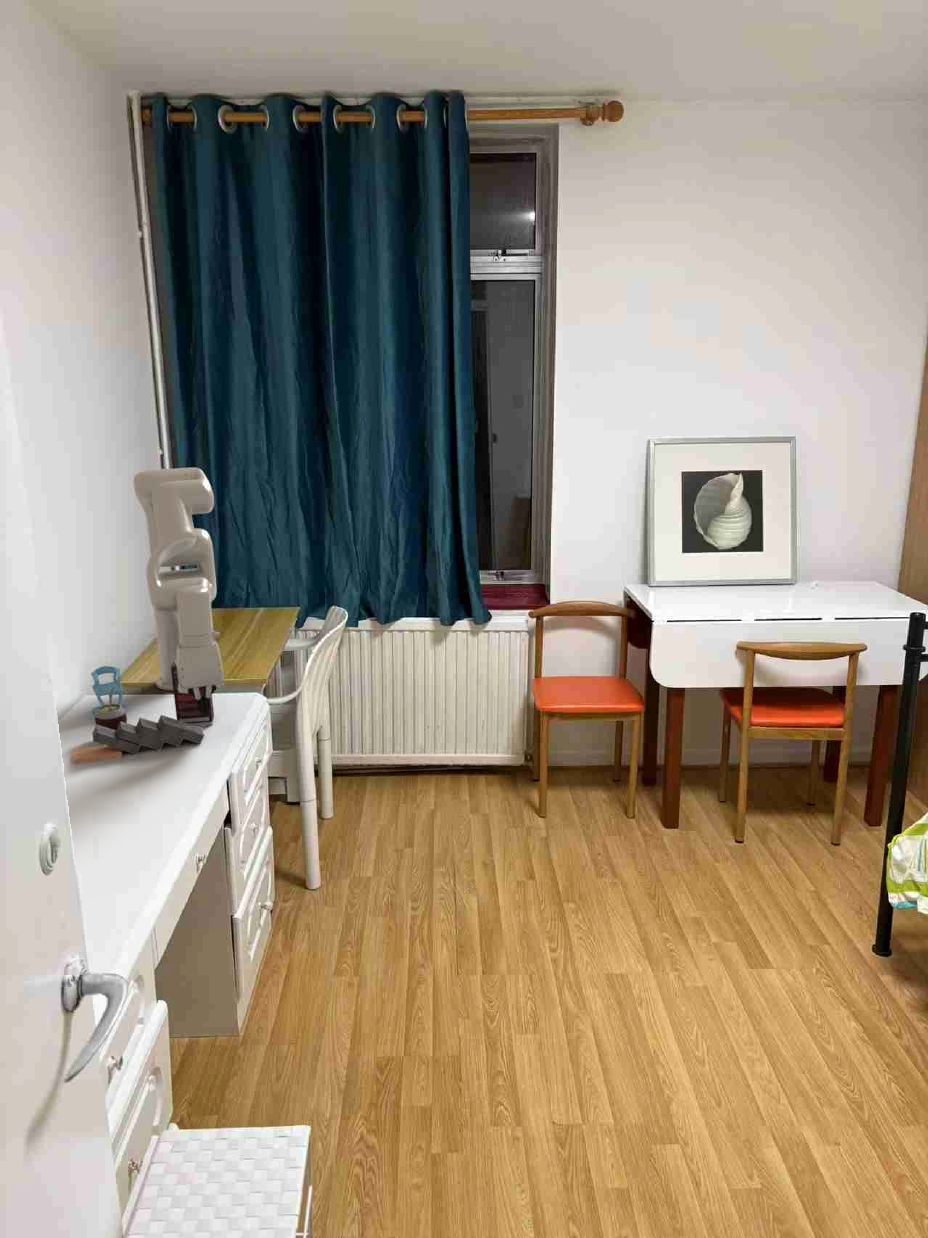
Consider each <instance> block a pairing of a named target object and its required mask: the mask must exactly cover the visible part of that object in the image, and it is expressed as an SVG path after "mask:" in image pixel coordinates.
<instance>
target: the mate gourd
mask: <svg viewBox="0 0 928 1238" xmlns="http://www.w3.org/2000/svg"><path fill="white" fill-rule="evenodd" d="M114 689H115V687H113V688H112V689H111V691H110V693H109V694H108V700H109V701H108V704H109V705H108V704H104V706H102V707H100V708H99V709H98V710H97V713H95V714H94V715H95V717H94V718H95V719H94V723H95V725H96V724H97V725H100V726H103V727H107V728H110V729H113V730H116V731H117V728H118V726H119V724H120V721H121V722H125V723H128V716H127V712H126V710H125V709H124V707H123V708H122V707H121V706H120V705H118V704H114V703H112V700H113V694H114V693H112V692H113V690H114Z"/></svg>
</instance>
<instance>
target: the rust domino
mask: <svg viewBox="0 0 928 1238" xmlns="http://www.w3.org/2000/svg"><path fill="white" fill-rule="evenodd" d="M73 751H74V755H73V756H74V764H75V763H80V764H84V763H83V762H86V763H91V761H92V762H98V761H104V760H110V759H111V760H112V759H116V758H122V757H123V753H122V751H123V750H120V749H117V748H114V747H110V746H107V745H99V746H91V747H86V748H85V747H84V748H80V749H79V748H78V749H74V750H73Z"/></svg>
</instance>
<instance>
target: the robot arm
mask: <svg viewBox="0 0 928 1238" xmlns="http://www.w3.org/2000/svg"><path fill="white" fill-rule="evenodd" d="M133 489H134V492H135V495H136V498H137V500H138V502H139V503H140V506H141V507H142V509H143V511H144V515H145V518H146V525H147V532H148V539H149V540H148V541H149V549H150V556H149V558H148V561H147V565H146V573H145V574H146V581H147V586H148V587H147V589H148V594H149V599H150V603H151V606H152V608H153V609H152V610H153V613H154V622H155V628H156V629H155V630H156V638H157V639H156V640H157V645H158V657H159V665H160V676H159V677H158V678H157V679H156V681H155V683H156V684H155V685H156V687H157V688H158V689H161V690H164V691H173V683H172V674H171V665H172V664H173V662H174V661H177V677H178V682H179V685H178V691H179V693H189V694H190V695H192V696H193V697H195V698H196V705H197V711H200V713H201V715H204V714H208V709H211V707H210V697H211V695H212V696H213V694H214V693H215V691H217V690H218V689H222V688H223V687H225V686H226V683H225V680H224V678H225V677H224V670H223V667H224V666H223V662H222V657H221V652H220V647H219V644H218V641H217V640H216V639H218V638H221V632H220V631H216V630H214V626H213V625H214V623H213V614H212V613H213V612H212V601H214V600H215V598H216V596H217V577H216V566H215V557H214V556H215V555H214V547H213V541H212V538H211V536H210V534H209V532H208V531H207V530H205V529H203V528H195V527H194V522H193V516H192V515H199V514H203V515H204V514H209V513H211V512H212V510H213V509H214V506H215V495H214V492H213V489H212V486H211V483H210V481H209V479H208V478H207V476H206V474H205V473H204V472H203V470H202V469H200V468H199V467H178V468H158V469H148V470H147V469H146V470H144V471H140V472H138V473H136V474H135V475H134V476H133ZM191 565H194V566H196V568H187V569H186V568H185V569H175V570H166V571H161V572H160V571H159V570H160V568H170V567H171V568H172V567H174V568H175V567H181V566H191ZM198 687H204V693H203V696H201V694H200V692H199V688H198ZM204 712H205V713H204Z"/></svg>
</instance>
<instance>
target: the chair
mask: <svg viewBox="0 0 928 1238" xmlns="http://www.w3.org/2000/svg"><path fill="white" fill-rule="evenodd" d="M104 674H113V675H112V676H113V677H112V680H113V681H110V682H108V683H107V682H106V683H100V678H99V676H100V675H104ZM90 675H91V676H92V678H93V682H94V683H93V685H91V687H92V691H93V692H94V694H95V696H96V698H97V701H98V703H99V705H100V706H94V707H93V706H92V708H91V711H92V712H93V713H95V714H96V713H97V710H98V709H99V708H100V707H102V706H104V705H105V703H104V701H103V699H102V697H103V696H107V695H109V693H110V691H111V689H112V688H113V687H115V689H114V690H113V692H112V693H113V694H118V700H117V702H114V703H113V704H118V705H120V706H121V707H122V708H123V709H124V706H125V704H124V701H123V697H124V692H125V689H124V687H123V686H122V685H121V679H122V677H121V669H120V668H118V667H114V666H109V665H104V666H100V667H98V668H97V669H95V670H94V671H92V672H90ZM107 705H109V703H108V704H107Z"/></svg>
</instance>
